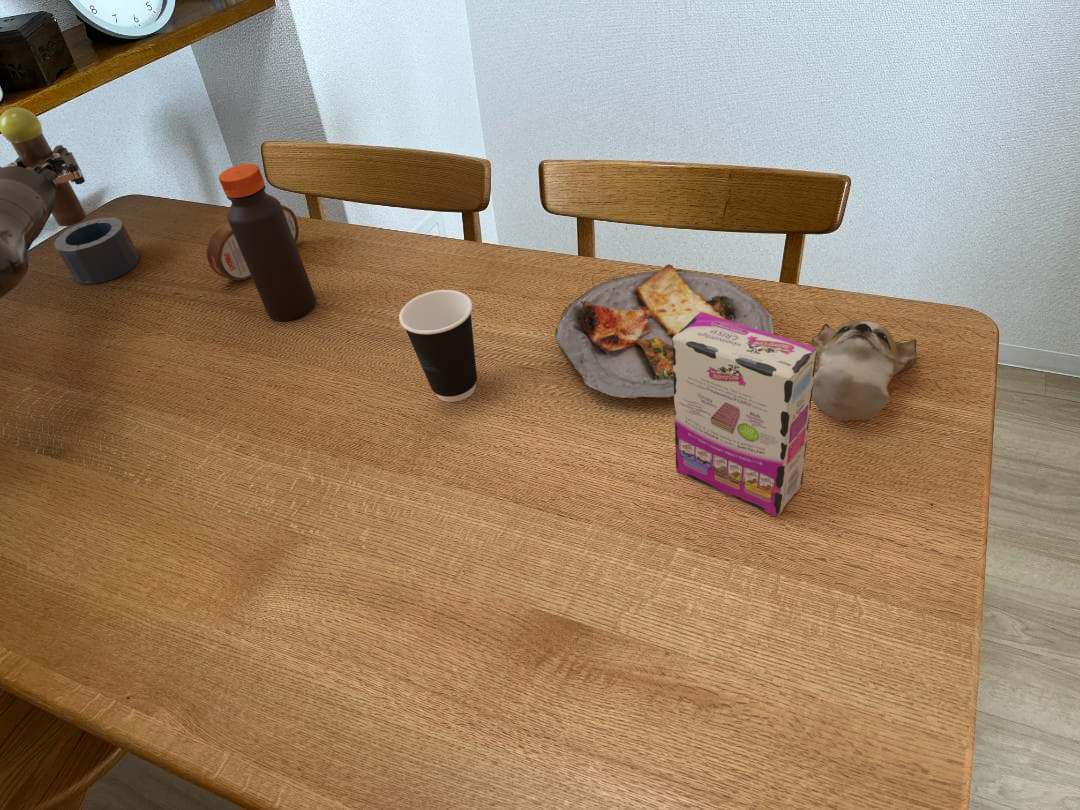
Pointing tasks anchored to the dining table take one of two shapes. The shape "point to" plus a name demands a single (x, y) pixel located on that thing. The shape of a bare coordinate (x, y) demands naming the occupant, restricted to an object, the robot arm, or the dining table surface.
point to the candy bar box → (742, 409)
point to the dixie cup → (443, 341)
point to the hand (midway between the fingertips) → (45, 155)
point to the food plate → (646, 327)
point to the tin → (236, 250)
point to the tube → (97, 250)
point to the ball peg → (33, 147)
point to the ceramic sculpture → (857, 368)
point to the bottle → (267, 244)
